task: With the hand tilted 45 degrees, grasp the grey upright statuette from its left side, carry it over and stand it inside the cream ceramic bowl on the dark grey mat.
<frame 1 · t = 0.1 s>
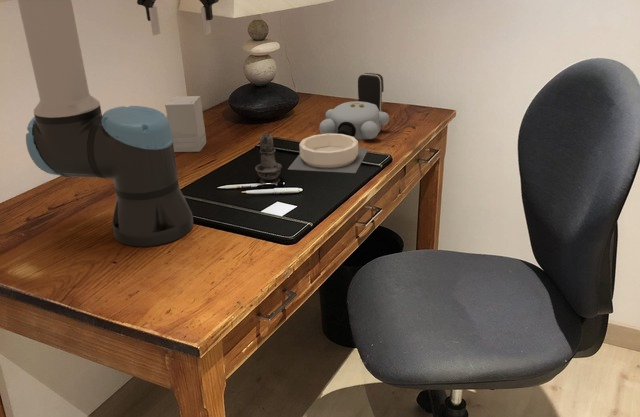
hand: (181, 34, 164), 28 cm above the table, tool pointing down, fingers open, 13 cm apart
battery: (371, 113, 193), on the table
mat: (329, 160, 159), on the table
supplement box: (189, 148, 172), on the table
grey rounded piece: (354, 136, 176), on the table
bowl: (329, 158, 159), resting on mat
grey upright statuette: (269, 182, 149), on the table
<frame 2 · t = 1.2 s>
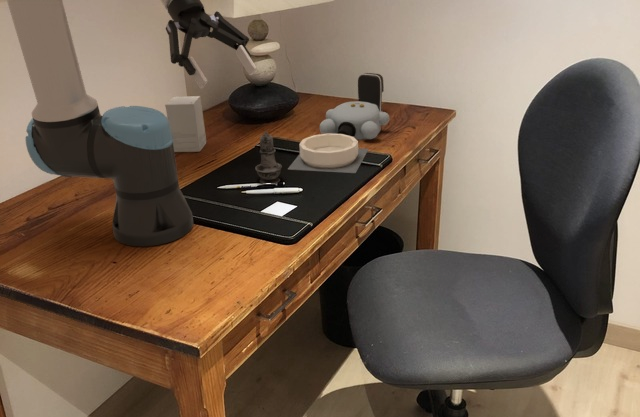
hand: (229, 78, 147), 22 cm above the table, tool tilted 45°, fingers open, 13 cm apart
nothing on the table moved.
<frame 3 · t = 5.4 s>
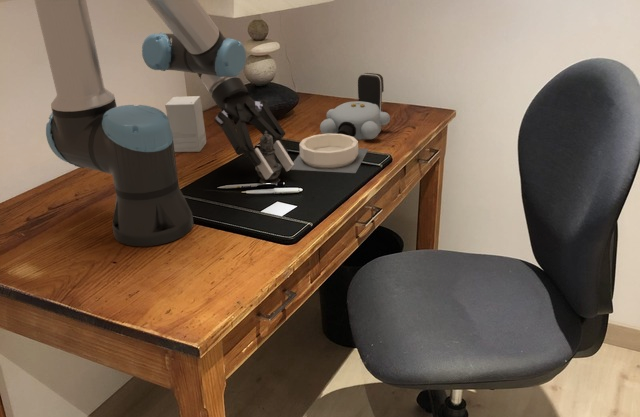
hand: (280, 171, 145), 3 cm above the table, tool tilted 45°, fingers closed on grey upright statuette, 5 cm apart
grey upright statuette: (269, 182, 149), on the table, touching gripper
everything else where it was.
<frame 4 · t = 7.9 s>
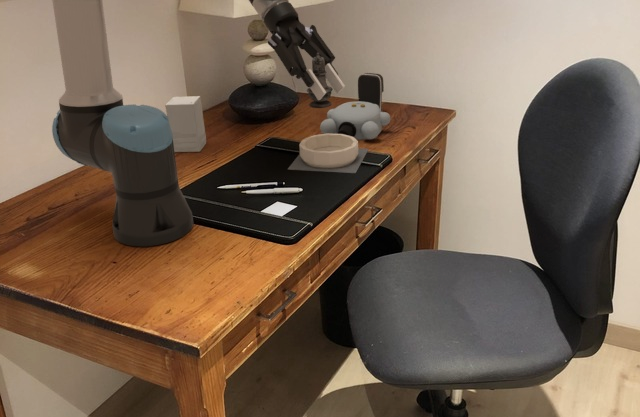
hand: (331, 93, 149), 17 cm above the table, tool tilted 45°, fingers closed on grey upright statuette, 5 cm apart
grey upright statuette: (320, 105, 153), point 14 cm above the table, touching gripper
everything else where it was.
when the fingers open (6 cm above the table, at t = 10.3 s): grey upright statuette drops 1 cm, resting on bowl.
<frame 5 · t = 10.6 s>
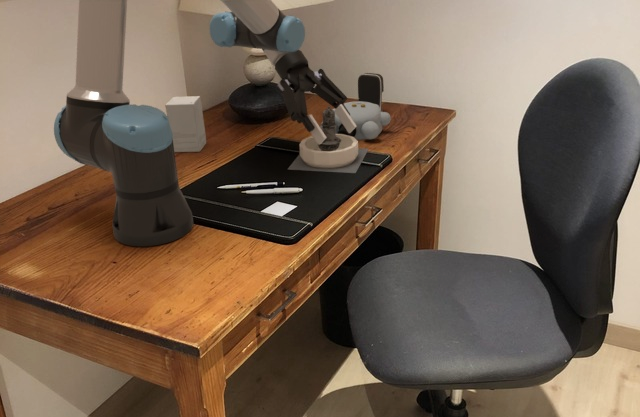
hand: (338, 135, 155), 7 cm above the table, tool tilted 45°, fingers open, 9 cm apart
grey upright statuette: (328, 155, 159), point 1 cm above the table, touching bowl
everything else where it was.
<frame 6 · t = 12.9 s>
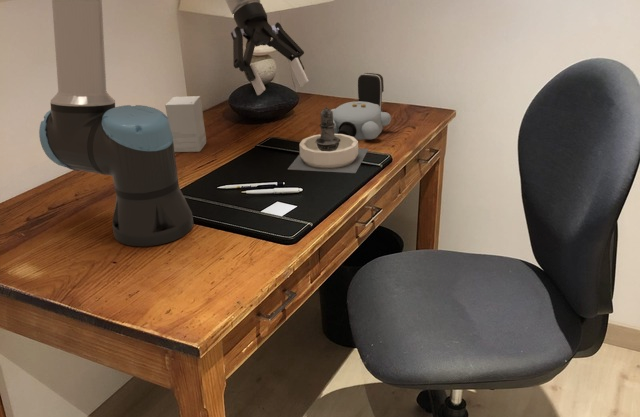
hand: (283, 88, 158), 16 cm above the table, tool tilted 35°, fingers open, 13 cm apart
nothing on the table moved.
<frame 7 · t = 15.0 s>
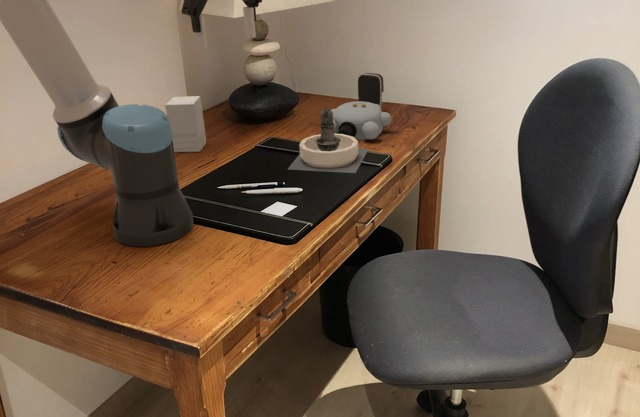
hand: (227, 42, 148), 29 cm above the table, tool pointing down, fingers open, 13 cm apart
nothing on the table moved.
at the end: grey upright statuette 0.2 cm from the bowl (horizontally); grey upright statuette tilted 0°; the gripper is holding nothing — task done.
